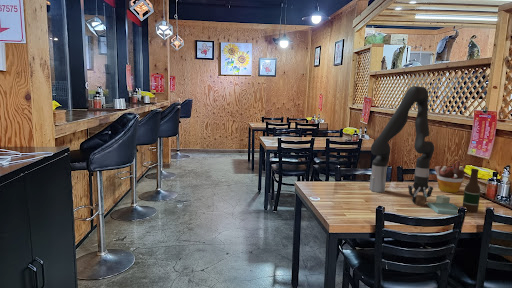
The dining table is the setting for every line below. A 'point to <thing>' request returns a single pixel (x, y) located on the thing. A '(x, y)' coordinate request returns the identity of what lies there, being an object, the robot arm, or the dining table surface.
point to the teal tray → (443, 208)
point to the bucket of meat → (450, 177)
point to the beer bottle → (472, 193)
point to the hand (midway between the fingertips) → (418, 202)
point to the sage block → (442, 199)
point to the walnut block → (420, 200)
